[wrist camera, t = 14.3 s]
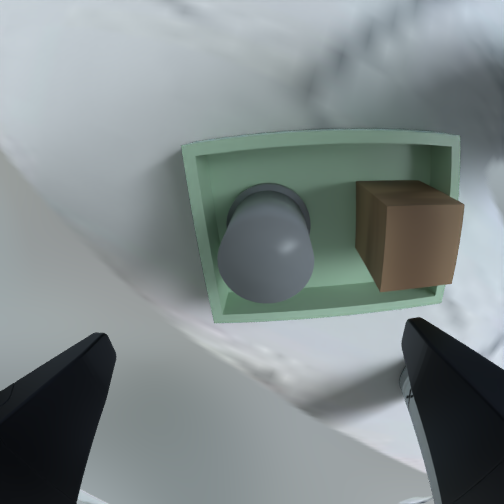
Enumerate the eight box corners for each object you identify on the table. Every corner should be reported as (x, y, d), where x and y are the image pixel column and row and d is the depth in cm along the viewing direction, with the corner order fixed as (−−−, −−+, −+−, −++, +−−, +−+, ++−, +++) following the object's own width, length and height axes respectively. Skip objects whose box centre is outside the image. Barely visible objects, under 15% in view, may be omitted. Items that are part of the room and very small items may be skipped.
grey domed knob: (307, 179, 16) (320, 204, 11) (310, 256, 18) (321, 305, 13) (222, 186, 16) (201, 214, 12) (233, 262, 18) (219, 311, 14)
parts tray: (433, 131, 14) (460, 135, 12) (423, 279, 18) (441, 302, 16) (196, 141, 16) (181, 145, 13) (222, 295, 20) (214, 323, 17)
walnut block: (418, 180, 15) (464, 204, 11) (414, 243, 17) (451, 283, 12) (355, 181, 16) (387, 206, 11) (355, 247, 17) (380, 292, 13)
